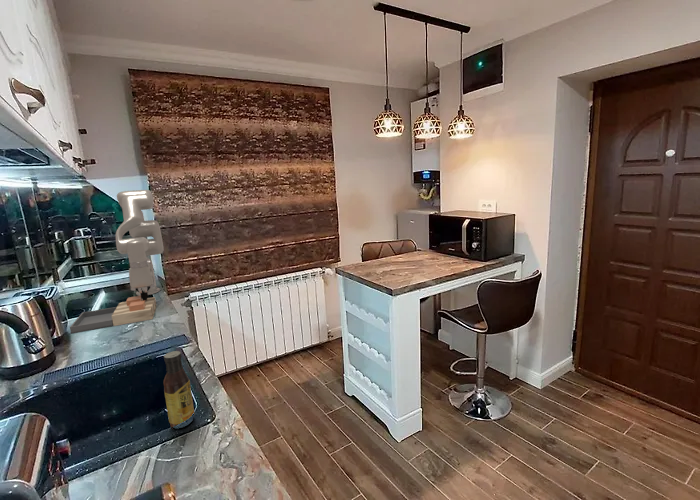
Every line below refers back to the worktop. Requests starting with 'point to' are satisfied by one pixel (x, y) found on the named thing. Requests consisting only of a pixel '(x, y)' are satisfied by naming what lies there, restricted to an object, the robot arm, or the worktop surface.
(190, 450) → the worktop surface
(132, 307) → the tile
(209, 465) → the worktop surface
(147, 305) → the bench plate
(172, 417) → the sauce bottle
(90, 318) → the box
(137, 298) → the tile
